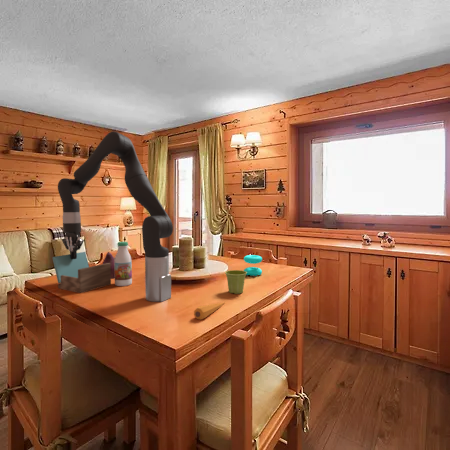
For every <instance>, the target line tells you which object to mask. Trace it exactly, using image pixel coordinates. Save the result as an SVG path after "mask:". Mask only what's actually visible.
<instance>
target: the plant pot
mask: <svg viewBox="0 0 450 450" xmlns="http://www.w3.org/2000/svg"><path fill="white" fill-rule="evenodd" d="M224 274H225V276H226V281H227V286H228V292H229V293H230V294H234V295H237V294H241V293H243V292H244V286H245V280H246V279H245V278H246V276H247V275H246V274H247V272H246V271H244V270H237V269H235V270H234V269H231V270H226V271H225V272H224Z"/></svg>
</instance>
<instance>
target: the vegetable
mask: <svg viewBox="0 0 450 450" xmlns="http://www.w3.org/2000/svg"><path fill="white" fill-rule="evenodd" d="M114 262H115V257H114V256H113V254H112V253H111V252H109V251H107V253H106V255H105V258H104V259H103V262H102V264H106V263H110V268H111V280H112V279H113V280H114V279H115V271H114Z"/></svg>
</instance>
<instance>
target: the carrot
mask: <svg viewBox="0 0 450 450" xmlns="http://www.w3.org/2000/svg"><path fill="white" fill-rule="evenodd" d="M224 304H225V302H217V303H211V304H210V303H209V304H205V305H199V306H198V307H197V308H195V310H194V311H193V316H194V317H195V318H196V320H200V321H202V320H204V319H206V318H207V317H209V316H210V315H212V314H213V313H214V312H215V311H217V310H218V309H220V308H221V307H222V306H223V305H224Z"/></svg>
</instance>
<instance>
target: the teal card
mask: <svg viewBox="0 0 450 450" xmlns="http://www.w3.org/2000/svg"><path fill="white" fill-rule="evenodd" d="M86 253H87V252H86V251H82V252H77V258H76V259H70V253H69V254H64V255H63V254H62V255H57V256H53V257H51V258H52V262H53V266H54V271H55V275H56V279H57V283H58V284H60V283H61V275H65V276H70V277H76V278H78V269H82V268H87V267H90V265H89V262H88V258H87V254H86Z"/></svg>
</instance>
